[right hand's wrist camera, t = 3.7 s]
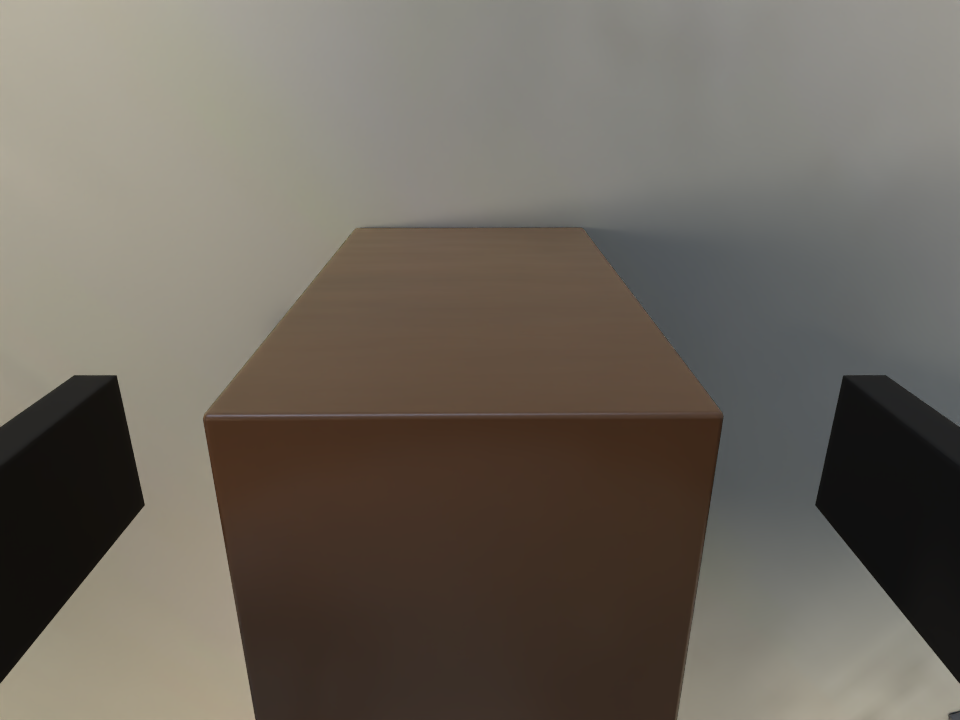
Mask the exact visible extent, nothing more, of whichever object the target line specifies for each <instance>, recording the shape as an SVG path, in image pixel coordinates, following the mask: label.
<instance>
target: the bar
mask: <svg viewBox="0 0 960 720" xmlns="http://www.w3.org/2000/svg"><path fill="white" fill-rule="evenodd" d="M203 422H204V427H205V433H206V439H207V444H208V450H209V456H210V462H211V467H212V473H213V479H214V484H215V490H216V496H217V502H218V507H219V513H220V519H221V525H222V530H223V536H224V542H225V547H226V553H227V559H228V565H229V570H230V576H231V582H232V588H233V593H234V599H235V605H236V610H237V616H238V622H239V628H240V633H241V639H242V645H243V650H244V656H245V662H246V668H247V673H248V679H249V685H250V691H251V696H252V702H253V708H254V713H255V719H256V720H677V716H678V709H679V703H680V696H681V690H682V683H683V677H684V670H685V664H686V657H687V651H688V644H689V638H690V631H691V624H692V618H693V611H694V605H695V598H696V592H697V585H698V579H699V572H700V566H701V559H702V553H703V546H704V540H705V533H706V527H707V520H708V514H709V507H710V501H711V494H712V488H713V481H714V475H715V468H716V461H717V455H718V448H719V442H720V435H721V429H722V422H723V414H722V412H721V410H720V409H719V408H718V406H717V405H716V404H715V402H714V401H713V400H712V398H711V397H710V396H709V394H708V393H707V392H706V390H705V389H704V388H703V386H702V385H701V384H700V382H699V381H698V380H697V378H696V377H695V376H694V374H693V373H692V372H691V370H690V369H689V368H688V367H687V365H686V364H685V363H684V361H683V360H682V359H681V357H680V356H679V355H678V353H677V352H676V351H675V349H674V348H673V347H672V345H671V344H670V343H669V341H668V340H667V339H666V337H665V336H664V335H663V333H662V332H661V331H660V329H659V328H658V327H657V326H656V324H655V323H654V322H653V320H652V319H651V318H650V316H649V315H648V314H647V312H646V311H645V310H644V308H643V307H642V306H641V304H640V303H639V302H638V300H637V299H636V298H635V296H634V295H633V294H632V292H631V291H630V290H629V288H628V287H627V286H626V285H625V283H624V282H623V281H622V279H621V278H620V277H619V275H618V274H617V273H616V271H615V270H614V269H613V267H612V266H611V265H610V263H609V262H608V261H607V259H606V258H605V257H604V255H603V254H602V253H601V251H600V250H599V249H598V247H597V246H596V245H595V244H594V242H593V241H592V240H591V238H590V237H589V236H588V234H587V233H586V232H585V230H584V229H583V228H356V229H355V230H354V231H353V232H352V233H351V235H350V236H349V237H348V238H347V240H346V241H345V242H344V243H343V245H342V246H341V247H340V248H339V249H338V251H337V252H336V253H335V254H334V256H333V257H332V258H331V259H330V260H329V262H328V263H327V264H326V265H325V267H324V268H323V269H322V270H321V272H320V273H319V274H318V275H317V276H316V278H315V279H314V280H313V281H312V283H311V284H310V285H309V286H308V288H307V289H306V290H305V291H304V292H303V294H302V295H301V296H300V297H299V299H298V300H297V301H296V302H295V304H294V305H293V306H292V307H291V308H290V310H289V311H288V312H287V313H286V315H285V316H284V317H283V318H282V320H281V321H280V322H279V323H278V324H277V326H276V327H275V328H274V329H273V331H272V332H271V333H270V334H269V336H268V337H267V338H266V339H265V340H264V342H263V343H262V344H261V345H260V347H259V348H258V349H257V350H256V352H255V353H254V354H253V355H252V356H251V358H250V359H249V360H248V361H247V363H246V364H245V365H244V366H243V368H242V369H241V370H240V371H239V372H238V374H237V375H236V376H235V377H234V379H233V380H232V381H231V382H230V383H229V385H228V386H227V387H226V388H225V390H224V391H223V392H222V393H221V395H220V396H219V397H218V398H217V399H216V401H215V402H214V403H213V404H212V406H211V407H210V408H209V409H208V411H207V412H206V413H205V414H204V417H203Z"/></svg>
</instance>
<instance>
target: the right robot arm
mask: <svg viewBox="0 0 960 720" xmlns="http://www.w3.org/2000/svg"><path fill="white" fill-rule="evenodd" d="M144 505H145V504H144V499H143V495H142V490H141V486H140V481H139V476H138V472H137V467H136V462H135V458H134V453H133V449H132V444H131V439H130V435H129V430H128V426H127V421H126V416H125V412H124V407H123V403H122V398H121V393H120V389H119V384H118V379H117V375H74V376H73V377H71V378H70V379H68V380H67V381H66V382H64V383H63V384H61V385H60V386H58V387H57V388H56V389H54V390H53V391H51V392H50V393H48V394H47V395H46V396H44V397H43V398H41V399H40V400H38V401H37V402H36V403H34V404H33V405H31V406H30V407H28V408H27V409H26V410H24V411H23V412H21V413H20V414H18V415H17V416H16V417H14V418H13V419H11V420H10V421H8V422H7V423H6V424H4V425H3V426H1V427H0V683H1V682H2V681H3V679H4V678H5V677H6V676H7V675H8V673H9V672H10V671H11V670H12V668H13V667H14V666H15V665H16V663H17V662H18V661H19V660H20V658H21V657H22V656H23V655H24V654H25V652H26V651H27V650H28V649H29V647H30V646H31V645H32V644H33V642H34V641H35V640H36V639H37V637H38V636H39V635H40V634H41V633H42V631H43V630H44V629H45V628H46V626H47V625H48V624H49V623H50V621H51V620H52V619H53V618H54V616H55V615H56V614H57V613H58V612H59V610H60V609H61V608H62V607H63V605H64V604H65V603H66V602H67V600H68V599H69V598H70V597H71V596H72V594H73V593H74V592H75V591H76V589H77V588H78V587H79V586H80V584H81V583H82V582H83V581H84V579H85V578H86V577H87V576H88V575H89V573H90V572H91V571H92V570H93V568H94V567H95V566H96V565H97V563H98V562H99V561H100V560H101V558H102V557H103V556H104V555H105V554H106V552H107V551H108V550H109V549H110V547H111V546H112V545H113V544H114V542H115V541H116V540H117V539H118V537H119V536H120V535H121V534H122V533H123V531H124V530H125V529H126V528H127V526H128V525H129V524H130V523H131V521H132V520H133V519H134V518H135V516H136V515H137V514H138V513H139V512H140V510H141V509H142V508H143V507H144ZM815 505H816V507H817V508H818V509H819V510H820V512H821V513H822V514H823V515H824V516H825V518H826V519H827V520H828V521H829V523H830V524H831V525H832V526H833V528H834V529H835V530H836V531H837V533H838V534H839V535H840V536H841V537H842V539H843V540H844V541H845V542H846V544H847V545H848V546H849V547H850V549H851V550H852V551H853V552H854V554H855V555H856V556H857V557H858V558H859V560H860V561H861V562H862V563H863V565H864V566H865V567H866V568H867V570H868V571H869V572H870V573H871V575H872V576H873V577H874V578H875V579H876V581H877V582H878V583H879V584H880V586H881V587H882V588H883V589H884V591H885V592H886V593H887V594H888V596H889V597H890V598H891V599H892V600H893V602H894V603H895V604H896V605H897V607H898V608H899V609H900V610H901V612H902V613H903V614H904V615H905V616H906V618H907V619H908V620H909V621H910V623H911V624H912V625H913V626H914V628H915V629H916V630H917V631H918V633H919V634H920V635H921V636H922V637H923V639H924V640H925V641H926V642H927V644H928V645H929V646H930V647H931V649H932V650H933V651H934V652H935V654H936V655H937V656H938V657H939V658H940V660H941V661H942V662H943V663H944V665H945V666H946V667H947V668H948V670H949V671H950V672H951V673H952V675H953V676H954V677H955V678H956V679H957V681H958V682H959V683H960V427H959V426H957V425H956V424H954V423H953V422H952V421H950V420H949V419H947V418H946V417H944V416H943V415H942V414H940V413H939V412H937V411H936V410H934V409H933V408H932V407H930V406H929V405H927V404H926V403H924V402H923V401H922V400H920V399H919V398H917V397H916V396H914V395H913V394H912V393H910V392H909V391H907V390H906V389H904V388H903V387H902V386H900V385H899V384H897V383H896V382H894V381H893V380H892V379H890V378H889V377H887V376H886V375H843V379H842V384H841V389H840V393H839V398H838V403H837V407H836V412H835V416H834V421H833V426H832V430H831V435H830V439H829V444H828V449H827V453H826V458H825V462H824V467H823V472H822V476H821V481H820V486H819V490H818V495H817V499H816V504H815Z"/></svg>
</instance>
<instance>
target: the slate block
mask: <svg viewBox="0 0 960 720" xmlns="http://www.w3.org/2000/svg"><path fill="white" fill-rule="evenodd" d="M949 720H960V712H958V713H954V714H950V715H949Z"/></svg>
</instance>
